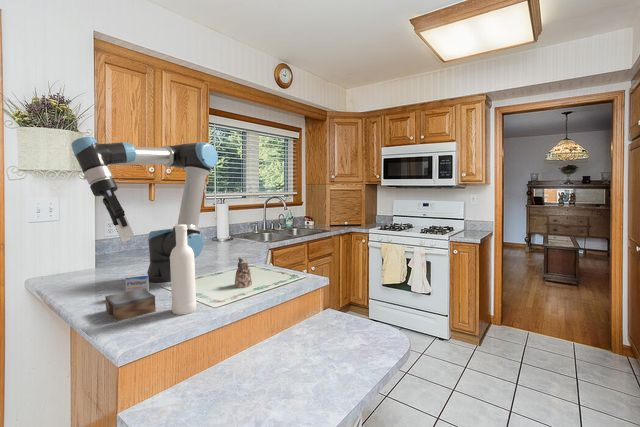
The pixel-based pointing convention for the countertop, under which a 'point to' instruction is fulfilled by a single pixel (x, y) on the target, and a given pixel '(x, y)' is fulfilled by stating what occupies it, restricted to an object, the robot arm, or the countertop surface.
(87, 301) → the countertop surface
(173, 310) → the bottle
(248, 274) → the figurine
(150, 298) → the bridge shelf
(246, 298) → the countertop surface
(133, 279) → the medicine box
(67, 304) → the countertop surface
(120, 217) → the robot arm
